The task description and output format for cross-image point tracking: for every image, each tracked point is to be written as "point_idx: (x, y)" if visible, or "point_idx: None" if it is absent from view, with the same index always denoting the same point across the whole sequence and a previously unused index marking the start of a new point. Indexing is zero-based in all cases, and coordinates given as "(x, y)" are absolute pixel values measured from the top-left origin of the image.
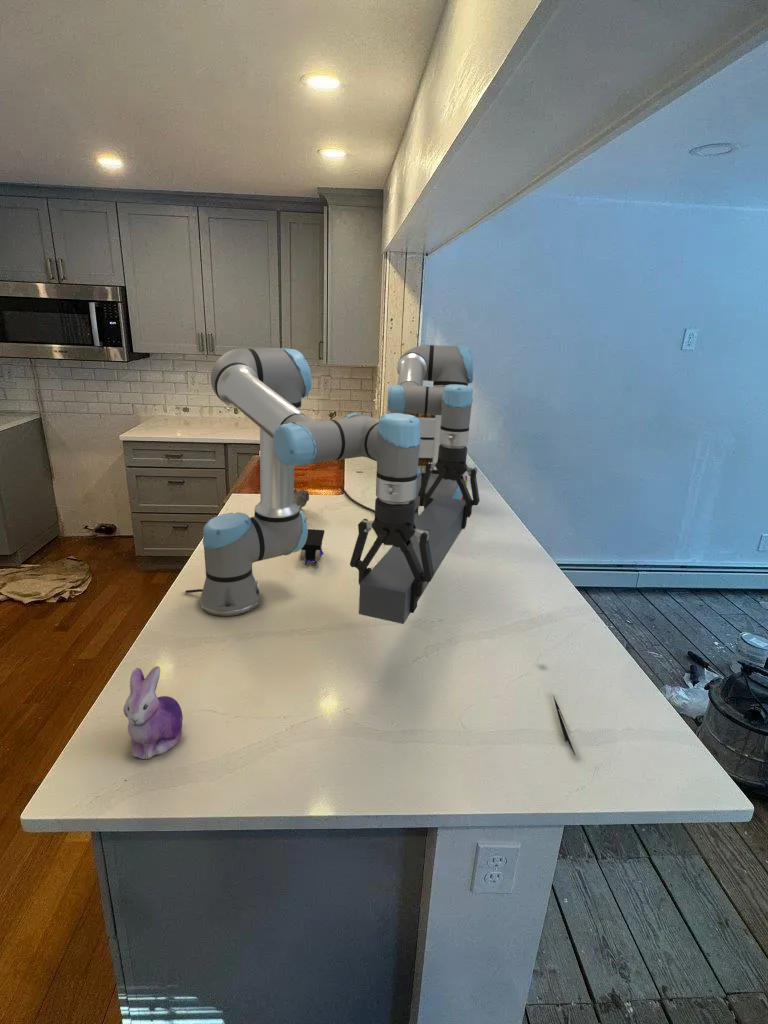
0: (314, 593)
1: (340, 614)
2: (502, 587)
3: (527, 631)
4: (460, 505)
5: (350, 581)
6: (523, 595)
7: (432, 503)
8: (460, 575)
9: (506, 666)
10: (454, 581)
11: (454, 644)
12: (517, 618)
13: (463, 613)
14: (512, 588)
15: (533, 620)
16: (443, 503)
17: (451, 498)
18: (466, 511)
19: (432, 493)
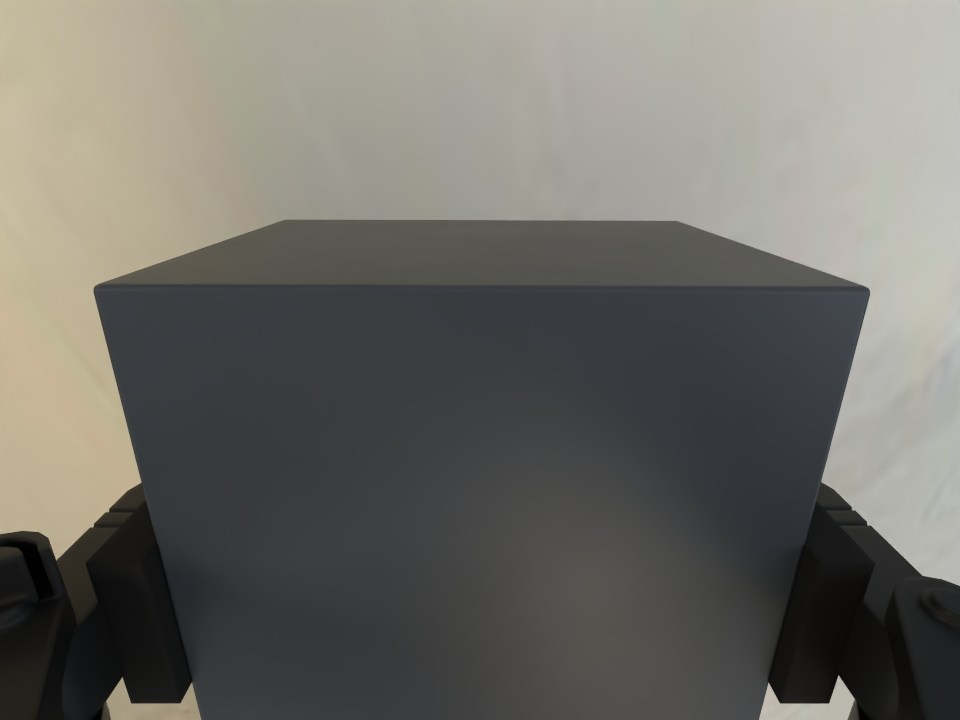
0: (37, 530)
1: None
2: (792, 147)
3: (865, 492)
4: (710, 623)
5: (87, 390)
6: (897, 197)
7: (240, 709)
8: (554, 91)
9: None
10: (535, 185)
11: None
12: (838, 419)
13: None
14: (847, 136)
15: (903, 410)
16: (405, 648)
17: (471, 317)
18: None
19: (55, 703)
